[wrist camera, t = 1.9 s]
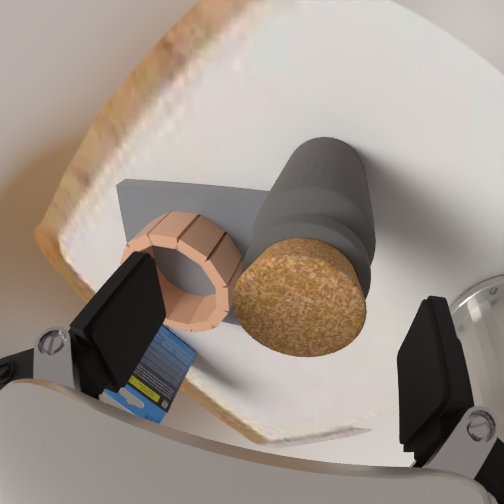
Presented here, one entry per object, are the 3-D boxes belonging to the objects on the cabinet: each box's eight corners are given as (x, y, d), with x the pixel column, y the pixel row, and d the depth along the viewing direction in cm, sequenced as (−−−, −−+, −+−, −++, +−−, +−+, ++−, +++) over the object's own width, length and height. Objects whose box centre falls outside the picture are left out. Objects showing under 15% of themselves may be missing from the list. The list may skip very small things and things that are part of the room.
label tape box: (133, 319, 39) (83, 389, 29) (146, 307, 37) (92, 383, 27) (183, 360, 41) (144, 433, 31) (199, 351, 39) (159, 431, 29)
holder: (272, 191, 25) (254, 223, 20) (266, 319, 32) (252, 360, 28) (125, 179, 28) (88, 203, 23) (148, 293, 35) (123, 325, 31)
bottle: (274, 186, 24) (197, 323, 12) (309, 121, 21) (257, 205, 9) (339, 222, 25) (322, 384, 12) (379, 162, 21) (419, 298, 9)
